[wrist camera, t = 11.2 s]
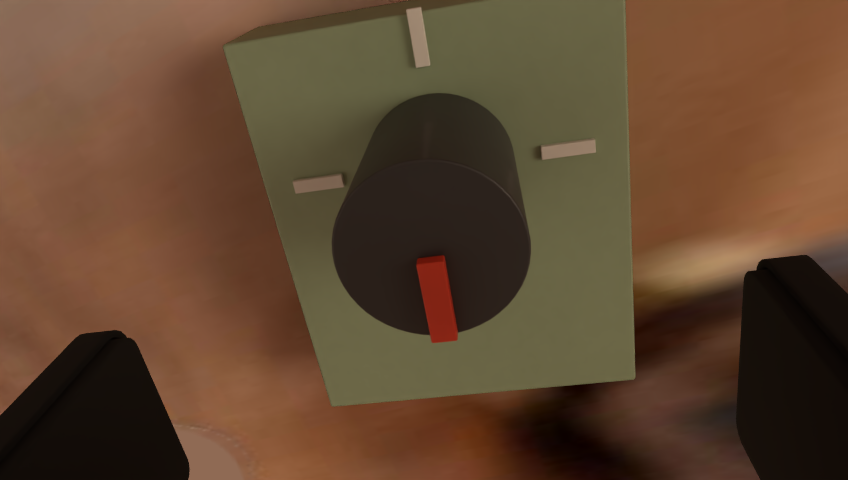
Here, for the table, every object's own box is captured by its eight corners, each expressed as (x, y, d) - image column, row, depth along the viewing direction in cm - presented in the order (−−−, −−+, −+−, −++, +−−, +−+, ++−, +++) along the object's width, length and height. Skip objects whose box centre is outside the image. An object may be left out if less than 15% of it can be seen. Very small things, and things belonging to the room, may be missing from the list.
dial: (352, 105, 16) (305, 180, 12) (506, 81, 16) (522, 151, 11) (382, 240, 18) (352, 353, 14) (521, 223, 18) (541, 334, 13)
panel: (255, 23, 19) (217, 42, 16) (601, -38, 17) (626, -29, 15) (346, 353, 24) (329, 411, 21) (616, 325, 23) (637, 383, 20)
